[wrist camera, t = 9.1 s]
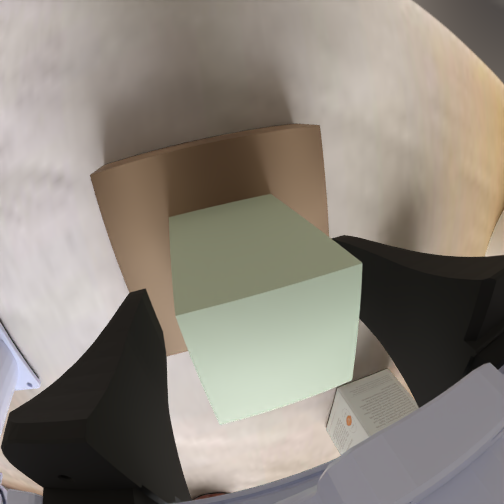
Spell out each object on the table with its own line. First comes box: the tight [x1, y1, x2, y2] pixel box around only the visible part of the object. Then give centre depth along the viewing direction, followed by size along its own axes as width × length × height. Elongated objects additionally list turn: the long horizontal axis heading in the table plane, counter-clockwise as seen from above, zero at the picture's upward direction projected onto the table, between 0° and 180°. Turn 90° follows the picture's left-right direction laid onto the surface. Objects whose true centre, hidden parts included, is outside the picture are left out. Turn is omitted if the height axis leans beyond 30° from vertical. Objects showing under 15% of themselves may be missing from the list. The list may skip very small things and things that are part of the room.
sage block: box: [169, 194, 362, 425], centre depth 11 cm, size 4×4×7 cm
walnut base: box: [90, 124, 329, 356], centre depth 15 cm, size 10×10×3 cm
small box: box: [326, 369, 419, 455], centre depth 22 cm, size 8×6×13 cm
